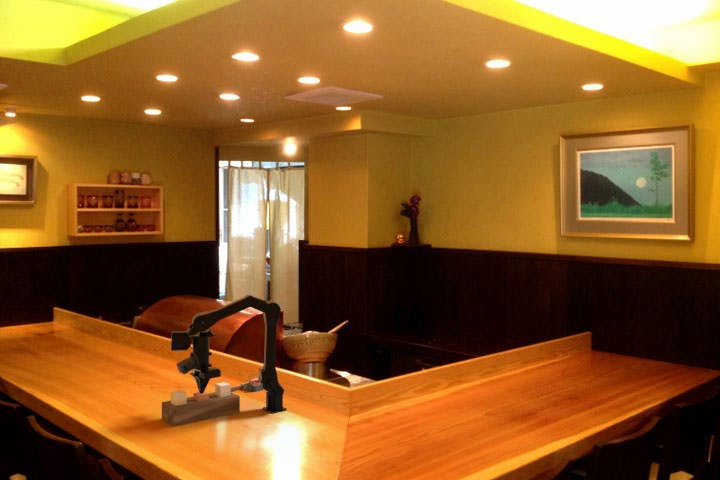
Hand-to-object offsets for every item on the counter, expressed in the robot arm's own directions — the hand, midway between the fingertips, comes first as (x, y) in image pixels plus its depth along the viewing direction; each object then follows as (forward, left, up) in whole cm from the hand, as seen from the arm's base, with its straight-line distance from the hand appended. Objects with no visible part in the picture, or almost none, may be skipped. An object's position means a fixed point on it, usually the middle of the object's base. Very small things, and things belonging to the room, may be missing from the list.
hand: (201, 393), depth 246 cm
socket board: (0, 0, -8) cm, 8 cm away
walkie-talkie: (+20, -32, -9) cm, 39 cm away
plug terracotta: (0, 0, -6) cm, 6 cm away
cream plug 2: (0, -8, -4) cm, 9 cm away
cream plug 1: (0, +9, -4) cm, 9 cm away
